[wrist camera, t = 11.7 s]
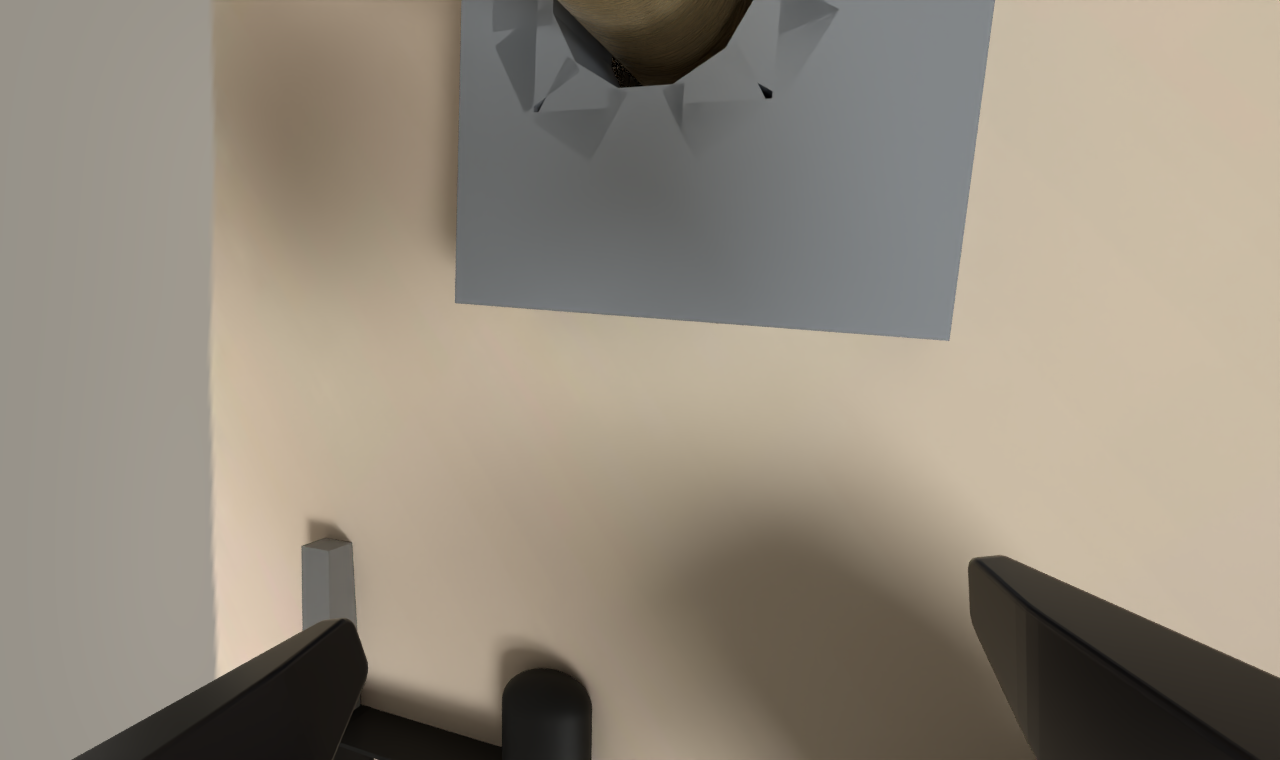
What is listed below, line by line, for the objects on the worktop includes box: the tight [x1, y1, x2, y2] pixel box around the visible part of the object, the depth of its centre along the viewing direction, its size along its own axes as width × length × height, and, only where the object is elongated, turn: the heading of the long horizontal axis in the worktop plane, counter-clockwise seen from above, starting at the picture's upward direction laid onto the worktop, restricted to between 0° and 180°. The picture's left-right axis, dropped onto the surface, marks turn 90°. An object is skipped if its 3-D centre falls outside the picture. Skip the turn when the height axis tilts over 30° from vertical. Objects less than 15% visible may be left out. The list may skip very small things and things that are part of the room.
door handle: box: [302, 538, 592, 760], centre depth 26 cm, size 3×20×16 cm
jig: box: [455, 0, 995, 341], centre depth 17 cm, size 14×14×4 cm
